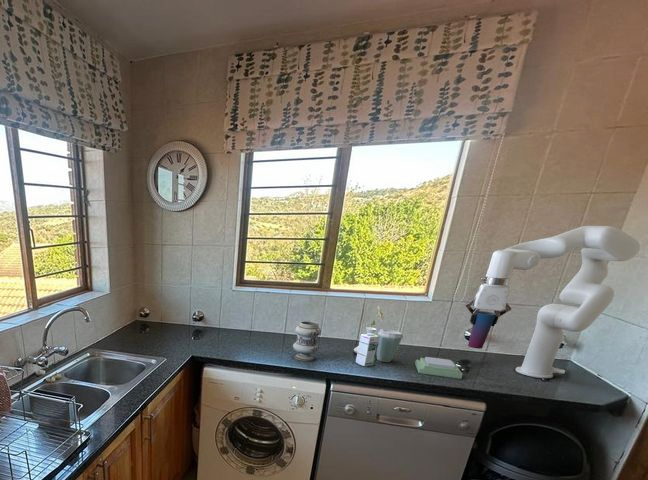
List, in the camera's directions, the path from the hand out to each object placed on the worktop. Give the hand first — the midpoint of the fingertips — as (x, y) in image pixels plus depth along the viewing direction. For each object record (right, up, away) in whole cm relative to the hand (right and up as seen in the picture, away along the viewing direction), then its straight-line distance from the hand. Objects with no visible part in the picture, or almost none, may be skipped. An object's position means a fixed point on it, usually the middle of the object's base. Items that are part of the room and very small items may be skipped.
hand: (482, 324), depth 170 cm
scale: (-9, -20, +14) cm, 26 cm away
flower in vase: (-30, -11, +36) cm, 48 cm away
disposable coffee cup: (-25, -14, +28) cm, 40 cm away
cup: (0, -10, +4) cm, 10 cm away
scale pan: (-9, -17, +13) cm, 23 cm away
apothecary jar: (-64, -13, +30) cm, 72 cm away
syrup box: (-38, -16, +22) cm, 47 cm away
